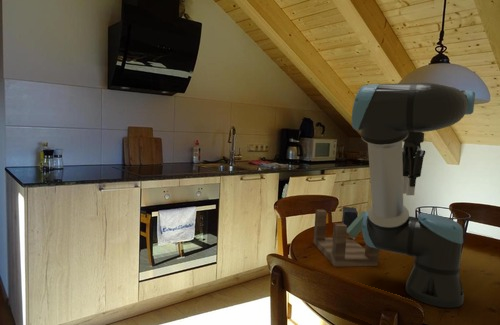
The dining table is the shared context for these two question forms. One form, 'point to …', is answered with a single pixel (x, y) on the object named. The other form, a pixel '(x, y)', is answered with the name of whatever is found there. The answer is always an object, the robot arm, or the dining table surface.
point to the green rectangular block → (356, 226)
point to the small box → (349, 215)
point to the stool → (341, 245)
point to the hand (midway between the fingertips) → (407, 194)
